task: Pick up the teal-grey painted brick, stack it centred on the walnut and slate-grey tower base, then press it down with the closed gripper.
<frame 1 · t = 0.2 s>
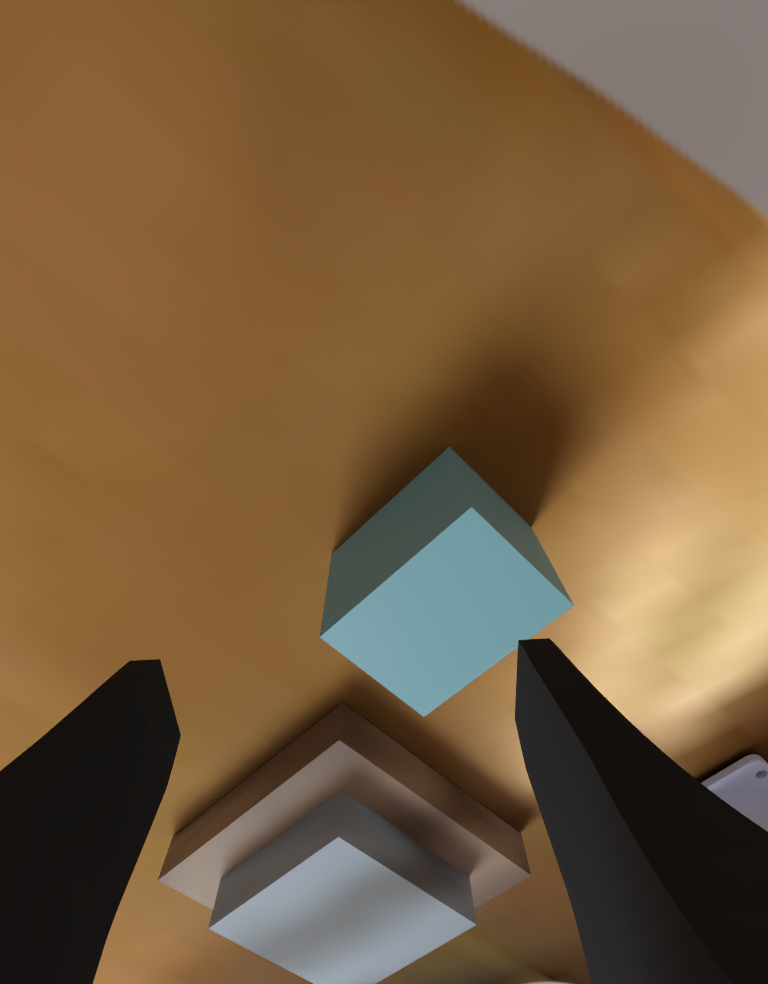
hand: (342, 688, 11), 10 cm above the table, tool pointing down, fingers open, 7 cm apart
tower base: (347, 835, 27), on the table
teal brick: (430, 539, 21), on the table
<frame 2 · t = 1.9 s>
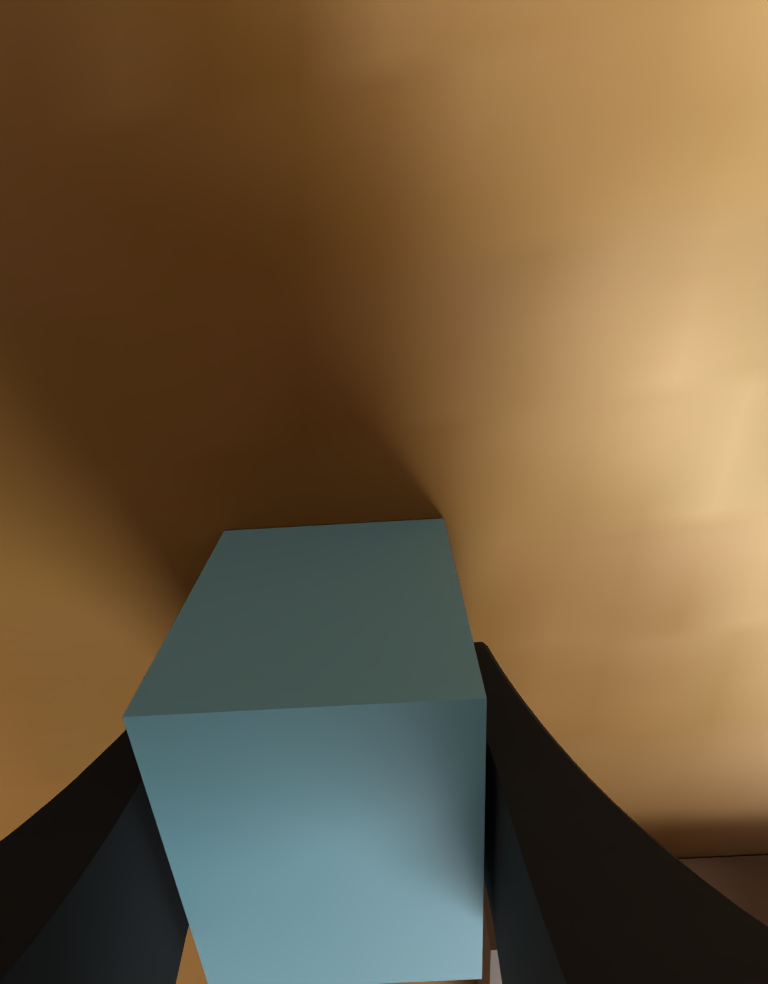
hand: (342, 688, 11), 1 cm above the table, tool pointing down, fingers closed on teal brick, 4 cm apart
tower base: (663, 981, 18), on the table
teal brick: (346, 643, 13), on the table, touching gripper
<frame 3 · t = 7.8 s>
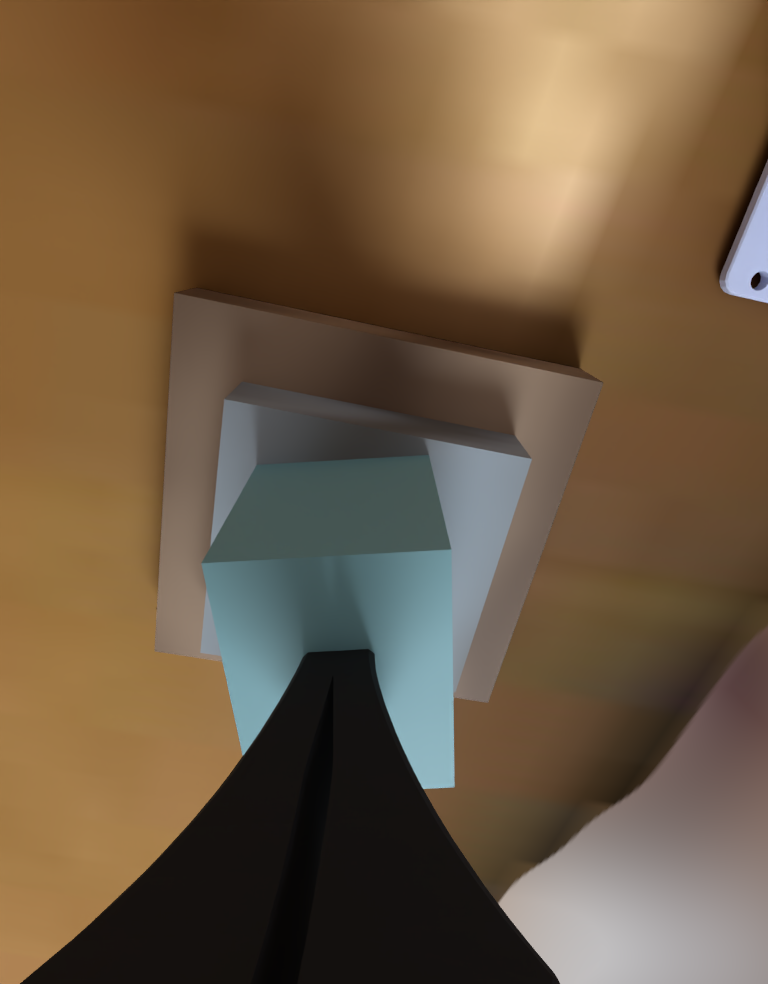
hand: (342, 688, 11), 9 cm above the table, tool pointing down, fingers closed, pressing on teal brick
tower base: (358, 504, 20), on the table
teal brick: (351, 559, 16), point 4 cm above the table, touching gripper, tower base
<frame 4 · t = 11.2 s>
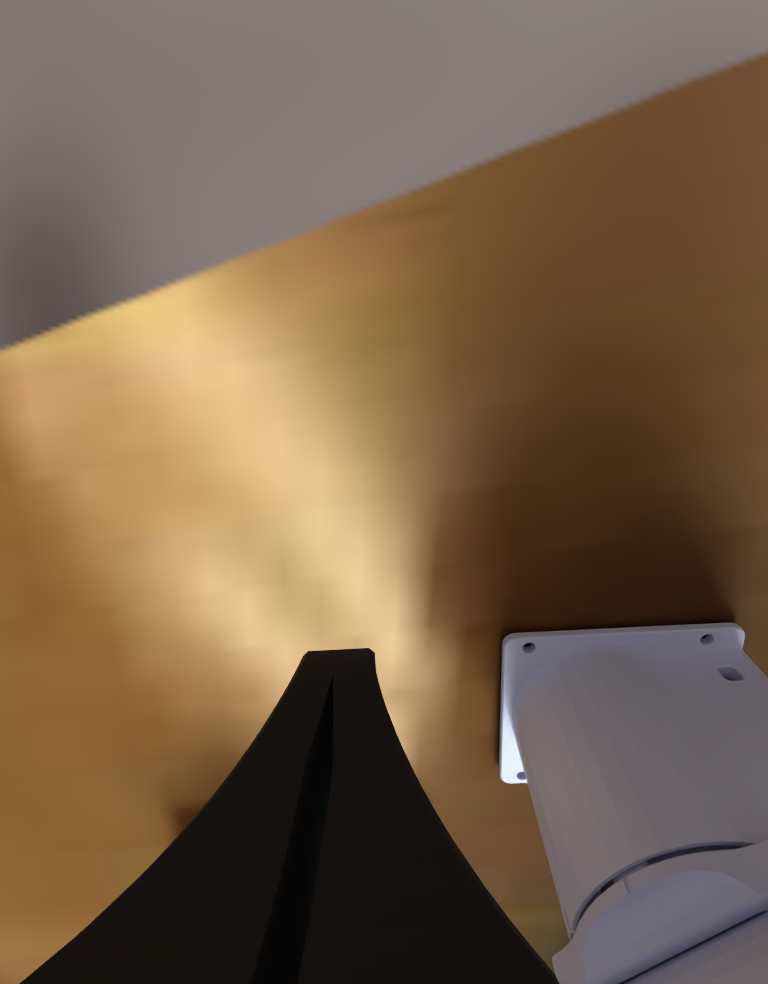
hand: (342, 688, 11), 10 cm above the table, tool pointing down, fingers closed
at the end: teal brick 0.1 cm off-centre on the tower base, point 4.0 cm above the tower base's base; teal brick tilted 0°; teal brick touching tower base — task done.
